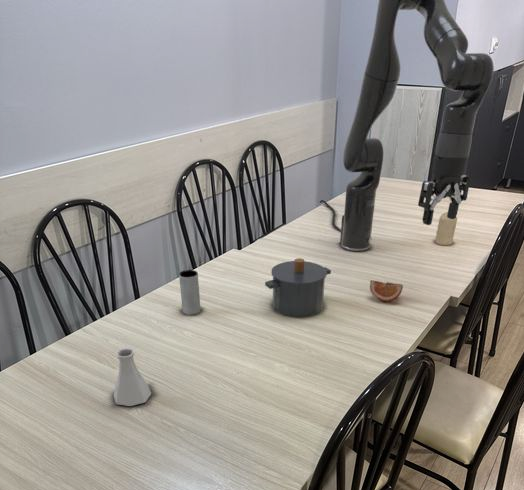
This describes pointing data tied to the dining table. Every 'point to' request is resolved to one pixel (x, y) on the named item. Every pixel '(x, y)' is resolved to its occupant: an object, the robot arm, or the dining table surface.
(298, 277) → the pot lid
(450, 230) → the candle
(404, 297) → the dining table surface
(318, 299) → the pot
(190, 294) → the gray cylinder
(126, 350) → the flask
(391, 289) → the fruit slice
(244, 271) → the dining table surface
